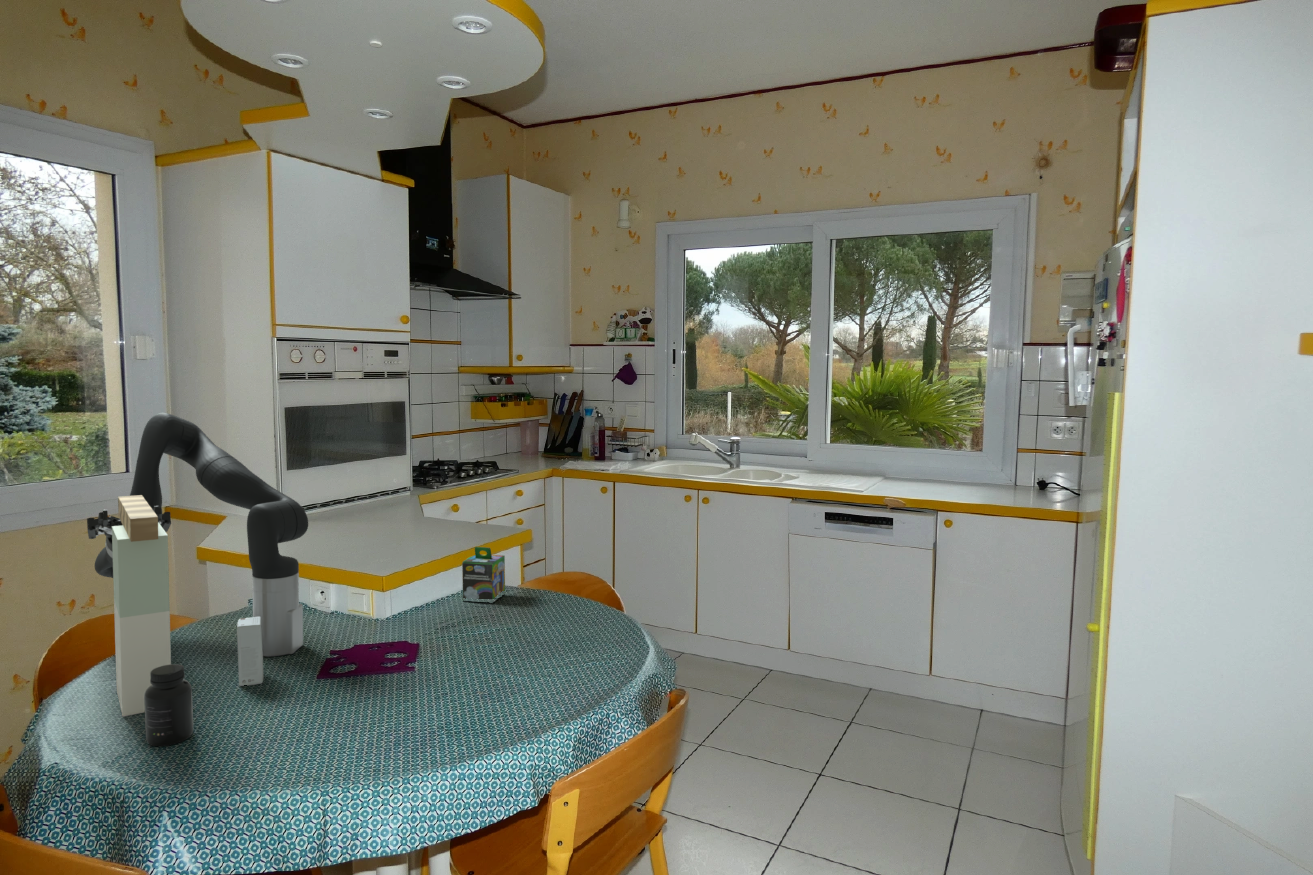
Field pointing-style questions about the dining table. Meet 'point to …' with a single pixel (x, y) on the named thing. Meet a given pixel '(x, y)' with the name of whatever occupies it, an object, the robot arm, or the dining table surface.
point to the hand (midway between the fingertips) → (131, 512)
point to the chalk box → (483, 575)
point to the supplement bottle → (168, 706)
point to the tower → (140, 614)
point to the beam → (138, 518)
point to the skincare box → (250, 651)
